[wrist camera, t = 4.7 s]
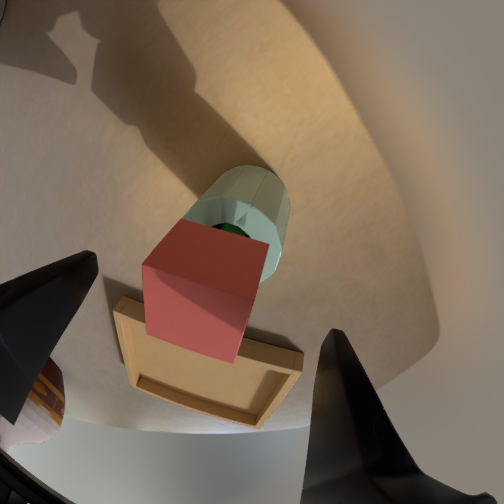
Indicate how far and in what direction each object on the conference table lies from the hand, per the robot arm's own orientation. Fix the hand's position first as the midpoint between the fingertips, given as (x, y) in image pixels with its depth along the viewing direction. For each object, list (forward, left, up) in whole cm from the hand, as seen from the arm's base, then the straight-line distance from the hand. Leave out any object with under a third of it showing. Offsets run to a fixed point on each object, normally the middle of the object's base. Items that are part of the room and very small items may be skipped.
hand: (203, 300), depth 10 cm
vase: (0, 0, -8) cm, 8 cm away
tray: (+1, +19, -8) cm, 21 cm away
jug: (+32, +41, -9) cm, 53 cm away
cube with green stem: (0, 0, -8) cm, 8 cm away
